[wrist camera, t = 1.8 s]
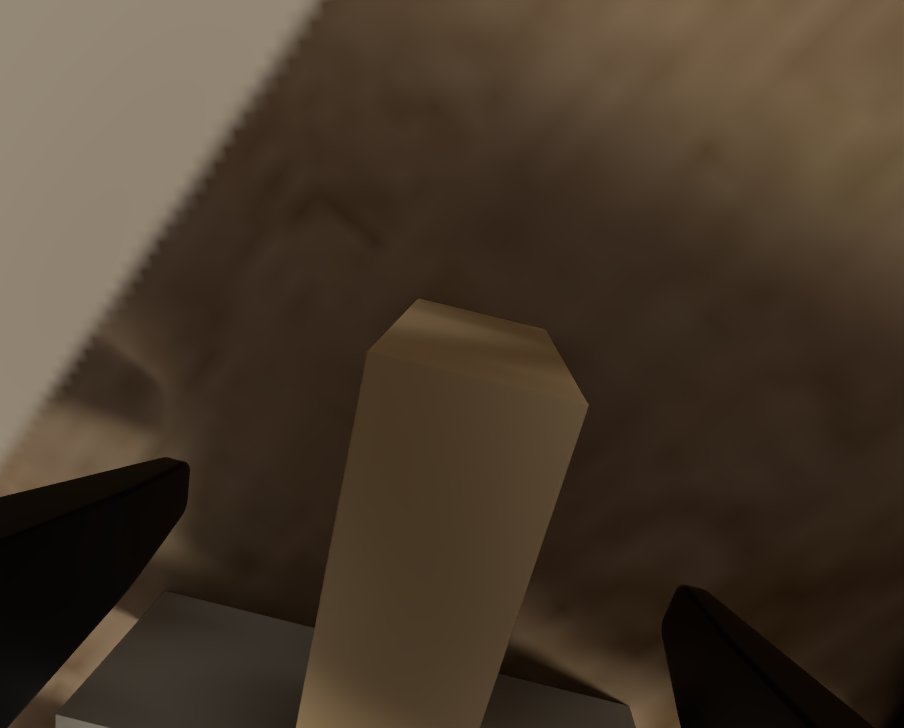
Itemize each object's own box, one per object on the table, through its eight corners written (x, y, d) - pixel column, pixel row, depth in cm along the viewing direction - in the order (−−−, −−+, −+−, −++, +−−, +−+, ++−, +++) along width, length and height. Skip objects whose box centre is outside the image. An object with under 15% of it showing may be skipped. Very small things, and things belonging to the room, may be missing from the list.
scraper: (771, 384, 9) (986, 503, 5) (611, 740, 12) (675, 998, 8) (192, 242, 9) (-29, 254, 5) (163, 629, 12) (1, 830, 8)
